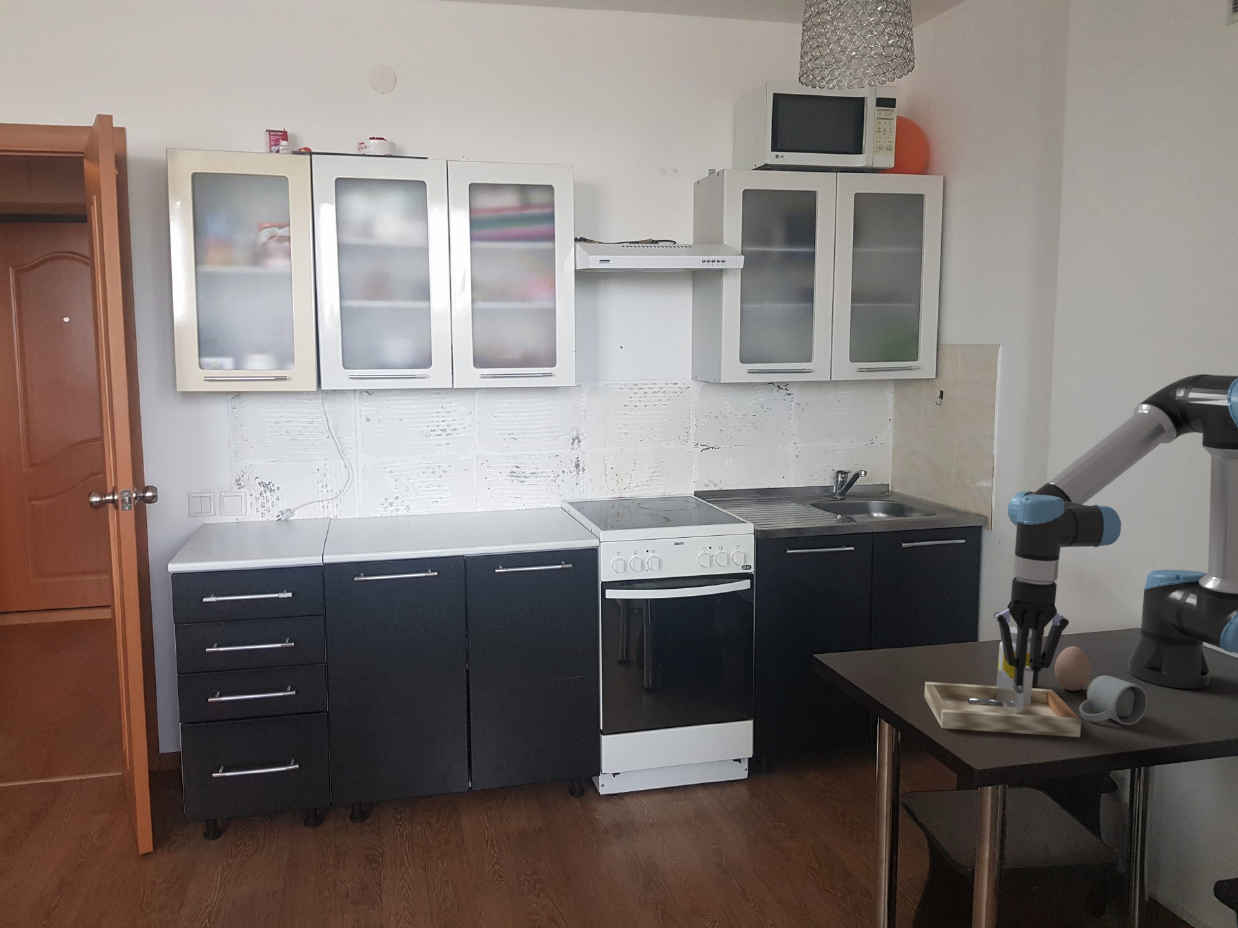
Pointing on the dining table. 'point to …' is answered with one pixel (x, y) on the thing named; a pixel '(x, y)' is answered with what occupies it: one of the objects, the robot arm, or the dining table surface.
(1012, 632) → the pill bottle
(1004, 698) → the pusher
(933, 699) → the wooden tray
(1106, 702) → the ceramic mug
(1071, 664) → the egg
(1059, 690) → the dining table surface
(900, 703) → the dining table surface
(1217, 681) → the dining table surface
